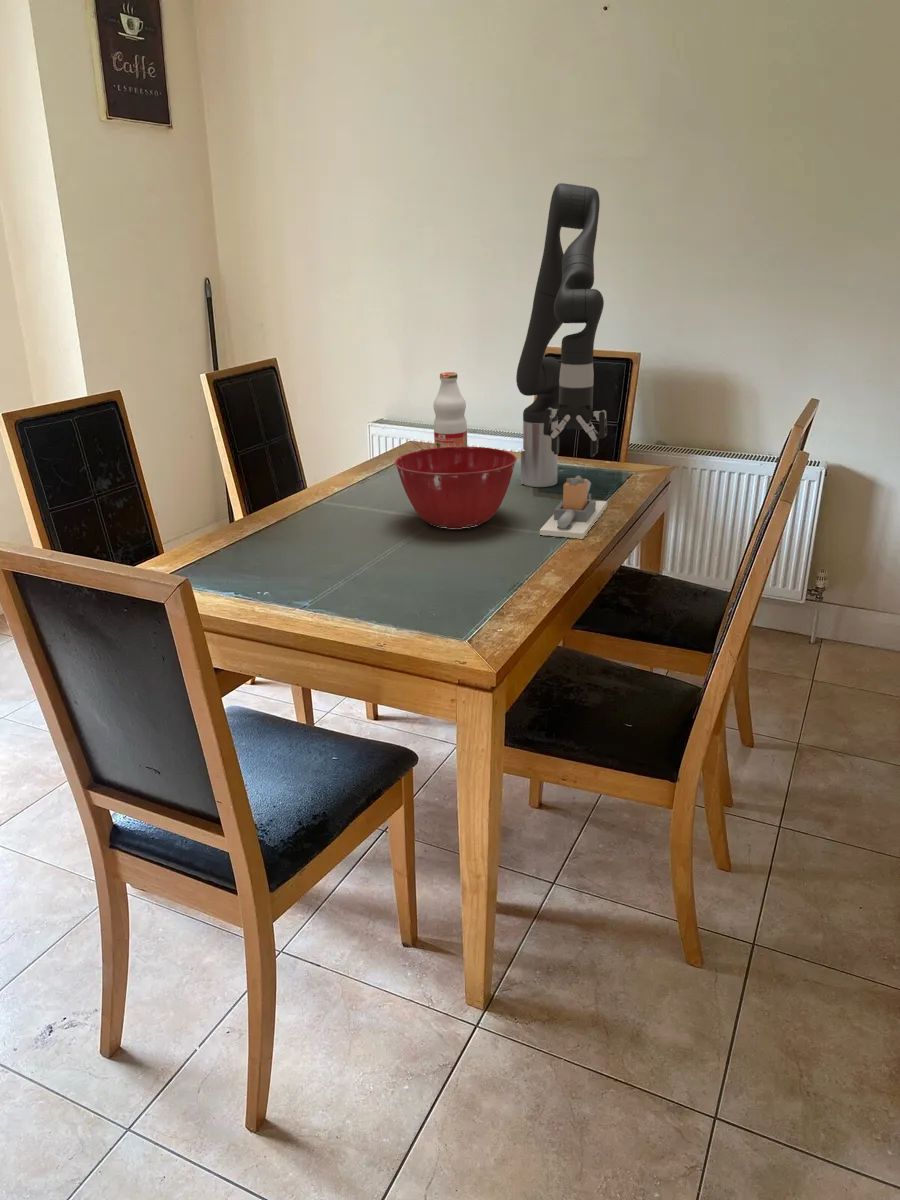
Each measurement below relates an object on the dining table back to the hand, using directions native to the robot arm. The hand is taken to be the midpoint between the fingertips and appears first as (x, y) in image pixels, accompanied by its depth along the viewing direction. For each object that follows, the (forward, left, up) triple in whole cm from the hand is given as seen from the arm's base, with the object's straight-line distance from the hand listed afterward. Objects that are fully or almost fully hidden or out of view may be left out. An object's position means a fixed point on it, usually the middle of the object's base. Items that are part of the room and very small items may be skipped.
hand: (574, 454), depth 207 cm
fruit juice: (-45, +37, -16) cm, 60 cm away
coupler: (0, 0, -14) cm, 14 cm away
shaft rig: (0, 0, -16) cm, 16 cm away
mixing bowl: (-27, -7, -16) cm, 32 cm away
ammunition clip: (-41, +22, -16) cm, 49 cm away
